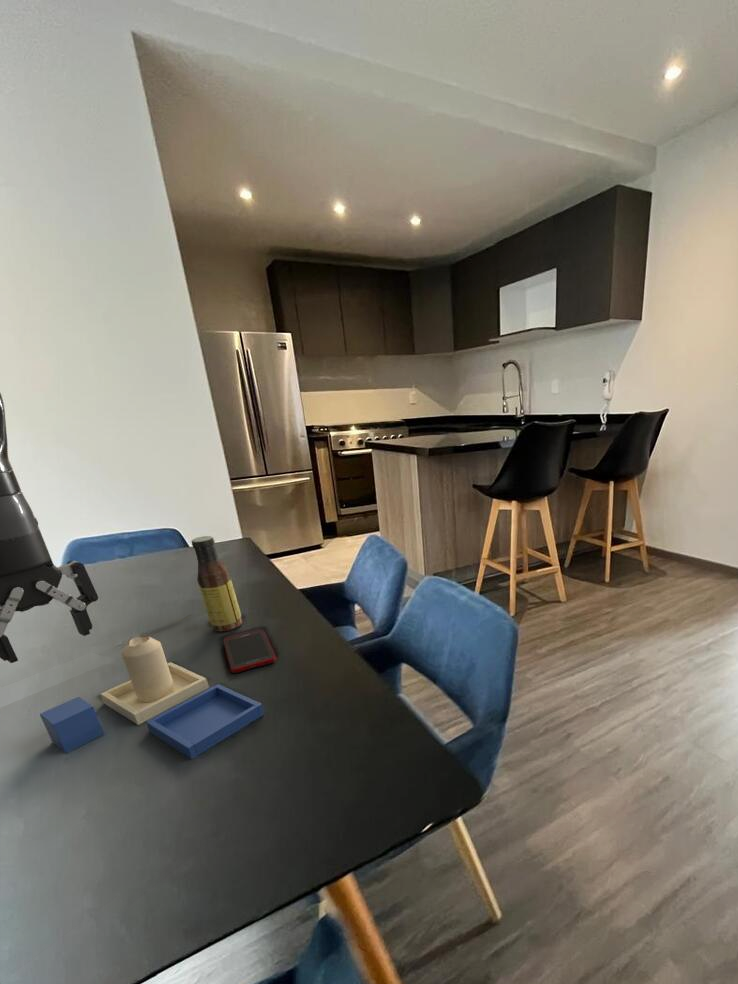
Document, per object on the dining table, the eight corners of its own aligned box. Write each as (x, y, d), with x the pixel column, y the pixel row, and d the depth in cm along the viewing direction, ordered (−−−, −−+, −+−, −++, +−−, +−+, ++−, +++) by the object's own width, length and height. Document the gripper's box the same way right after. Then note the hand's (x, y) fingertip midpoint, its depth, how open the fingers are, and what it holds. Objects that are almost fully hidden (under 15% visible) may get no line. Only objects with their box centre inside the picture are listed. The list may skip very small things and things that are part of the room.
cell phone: (232, 675, 86) (230, 670, 86) (223, 642, 98) (222, 638, 98) (277, 662, 89) (276, 657, 89) (263, 632, 102) (262, 628, 101)
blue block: (66, 753, 69) (52, 724, 67) (52, 742, 72) (39, 713, 70) (104, 734, 73) (93, 705, 71) (90, 723, 75) (78, 696, 74)
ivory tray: (138, 725, 74) (134, 714, 74) (104, 703, 81) (100, 693, 80) (209, 688, 83) (206, 678, 82) (173, 671, 89) (170, 661, 88)
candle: (131, 696, 81) (111, 643, 77) (164, 681, 85) (147, 629, 81) (147, 706, 78) (128, 651, 74) (181, 689, 82) (164, 636, 78)
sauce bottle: (229, 618, 110) (207, 532, 102) (249, 622, 107) (228, 534, 99) (204, 631, 104) (179, 541, 97) (225, 635, 102) (200, 543, 94)
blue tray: (191, 759, 66) (188, 748, 65) (149, 732, 72) (145, 721, 72) (264, 714, 75) (261, 703, 74) (220, 693, 81) (218, 683, 80)
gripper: (54, 517, 69) (94, 621, 75) (-85, 544, 58) (-25, 664, 64) (77, 521, 65) (118, 631, 71) (-68, 552, 54) (-6, 678, 60)
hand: (50, 646), depth 68 cm, fingers open, 8 cm apart
